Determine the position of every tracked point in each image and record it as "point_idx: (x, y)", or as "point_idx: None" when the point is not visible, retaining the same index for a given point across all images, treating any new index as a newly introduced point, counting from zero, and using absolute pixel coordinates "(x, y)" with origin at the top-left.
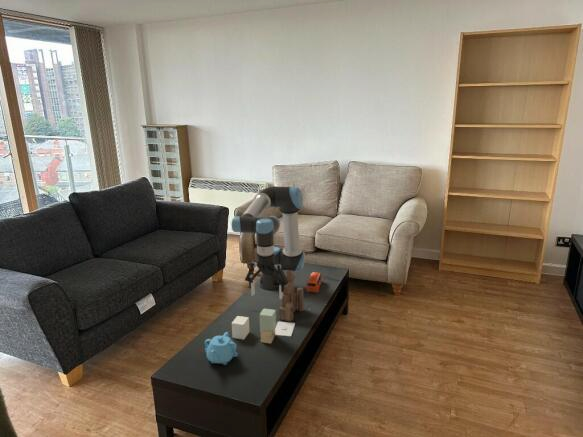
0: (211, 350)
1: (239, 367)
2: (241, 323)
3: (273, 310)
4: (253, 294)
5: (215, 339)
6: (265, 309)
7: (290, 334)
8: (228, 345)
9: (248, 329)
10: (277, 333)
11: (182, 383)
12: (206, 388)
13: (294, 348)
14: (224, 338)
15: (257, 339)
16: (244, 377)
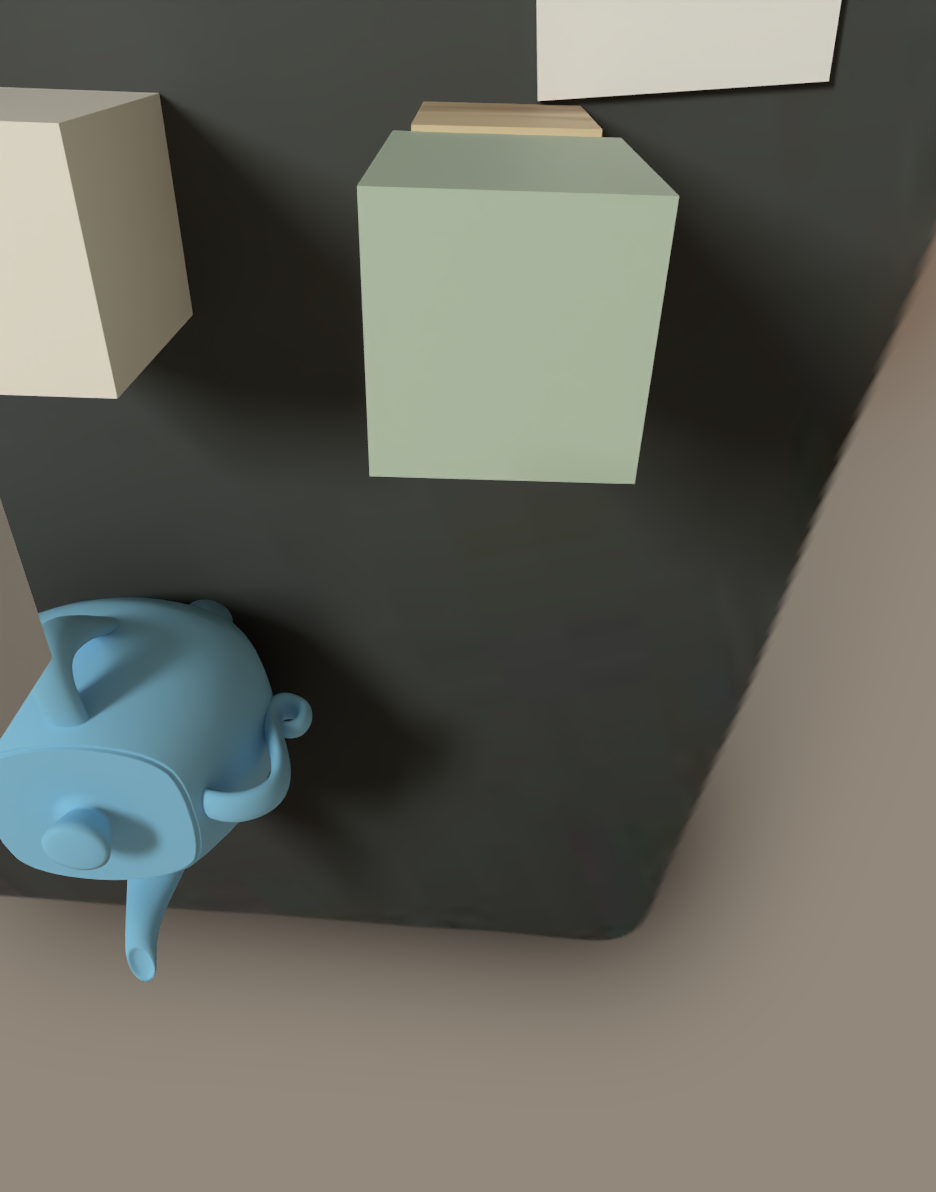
0: (129, 958)
1: (375, 724)
2: (65, 367)
3: (629, 239)
4: (23, 635)
5: (29, 815)
6: (421, 234)
7: (820, 33)
8: (215, 825)
9: (146, 139)
10: (606, 53)
11: (78, 901)
12: (257, 908)
13: (871, 363)
14: (110, 786)
15: (360, 273)
16: (462, 801)
